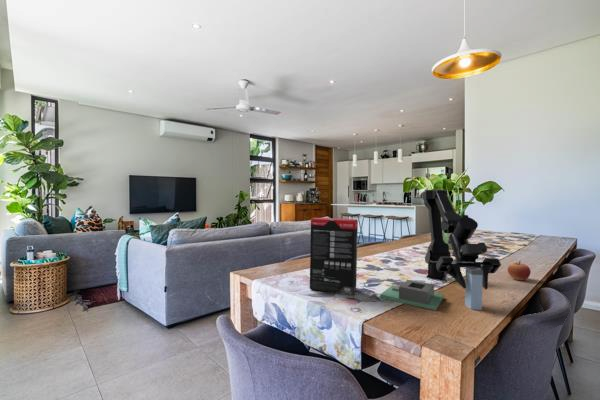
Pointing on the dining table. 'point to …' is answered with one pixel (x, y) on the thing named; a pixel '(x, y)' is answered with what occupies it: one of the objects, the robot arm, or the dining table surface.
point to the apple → (519, 271)
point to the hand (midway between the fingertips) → (475, 288)
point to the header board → (396, 295)
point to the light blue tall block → (473, 288)
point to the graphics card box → (333, 255)
